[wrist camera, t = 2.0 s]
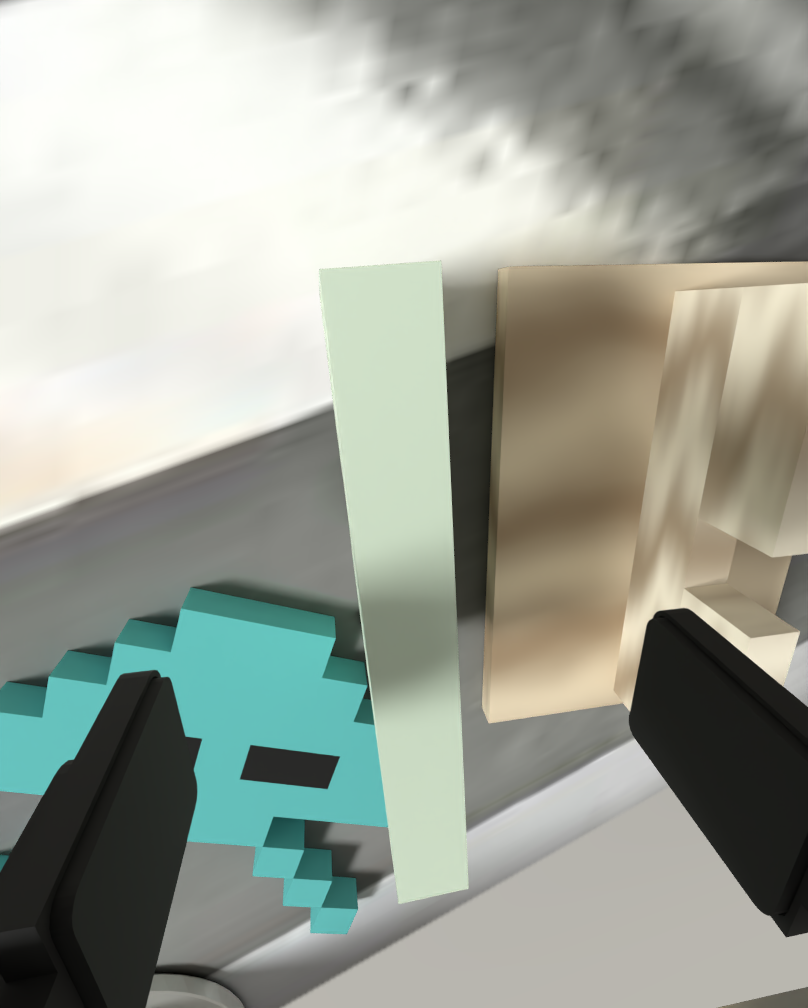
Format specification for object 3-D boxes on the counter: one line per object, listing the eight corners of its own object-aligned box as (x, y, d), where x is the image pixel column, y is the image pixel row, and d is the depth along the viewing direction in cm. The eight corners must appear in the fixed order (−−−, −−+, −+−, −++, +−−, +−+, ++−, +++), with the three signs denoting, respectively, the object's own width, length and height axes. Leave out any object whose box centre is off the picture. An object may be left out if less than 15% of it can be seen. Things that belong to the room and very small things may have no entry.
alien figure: (344, 894, 32) (456, 636, 26) (346, 934, 30) (468, 663, 24) (-14, 874, 27) (29, 548, 21) (-42, 921, 25) (-2, 573, 19)
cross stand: (739, 669, 30) (882, 789, 22) (482, 706, 28) (544, 854, 20) (846, 263, 22) (1123, 236, 14) (498, 269, 20) (610, 241, 12)
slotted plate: (403, 635, 25) (468, 888, 14) (363, 641, 25) (398, 904, 14) (371, 291, 19) (441, 261, 8) (319, 295, 19) (319, 269, 8)
